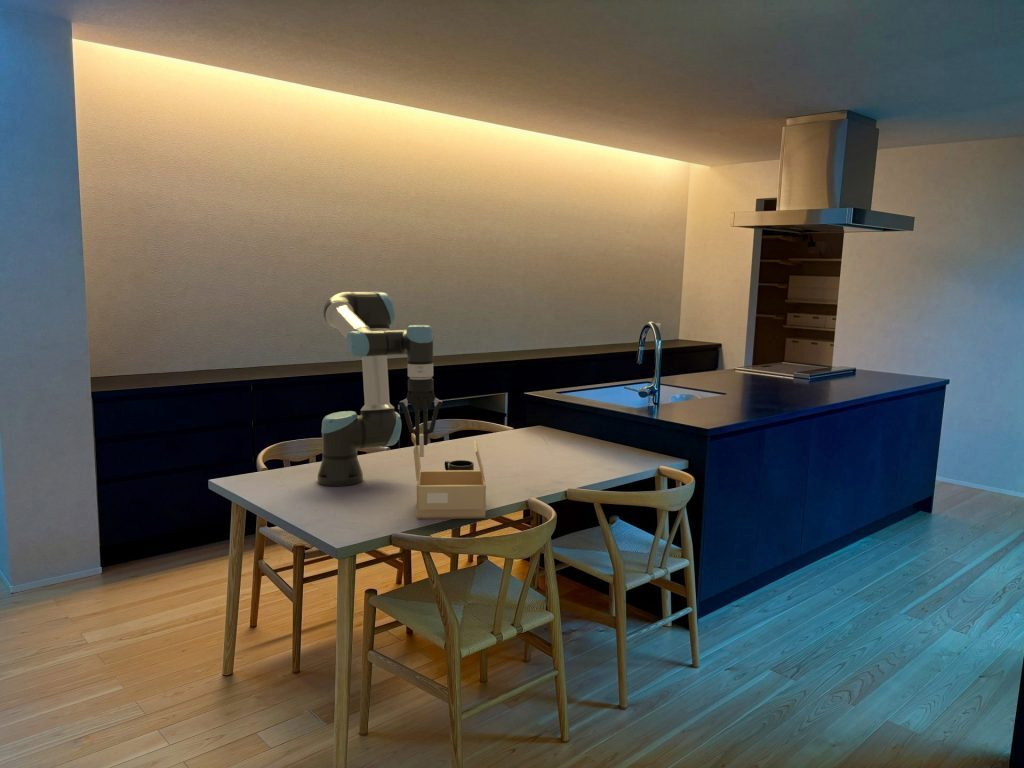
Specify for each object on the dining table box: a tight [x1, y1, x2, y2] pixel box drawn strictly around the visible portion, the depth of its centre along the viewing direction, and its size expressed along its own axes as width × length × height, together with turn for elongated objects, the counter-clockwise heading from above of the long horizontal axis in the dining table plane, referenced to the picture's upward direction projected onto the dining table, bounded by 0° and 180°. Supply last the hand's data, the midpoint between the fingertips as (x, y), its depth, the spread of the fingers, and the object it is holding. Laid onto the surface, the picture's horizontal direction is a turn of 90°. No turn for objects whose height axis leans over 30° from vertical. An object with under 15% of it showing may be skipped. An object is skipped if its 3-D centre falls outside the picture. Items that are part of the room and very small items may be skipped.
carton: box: [416, 469, 487, 520], centre depth 222 cm, size 20×18×10 cm
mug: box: [443, 459, 475, 470], centre depth 243 cm, size 8×12×10 cm
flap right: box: [473, 439, 486, 481], centre depth 221 cm, size 1×15×9 cm, turn 4°
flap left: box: [413, 441, 422, 482], centre depth 219 cm, size 1×15×9 cm, turn 5°
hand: (421, 455), depth 219 cm, fingers closed
